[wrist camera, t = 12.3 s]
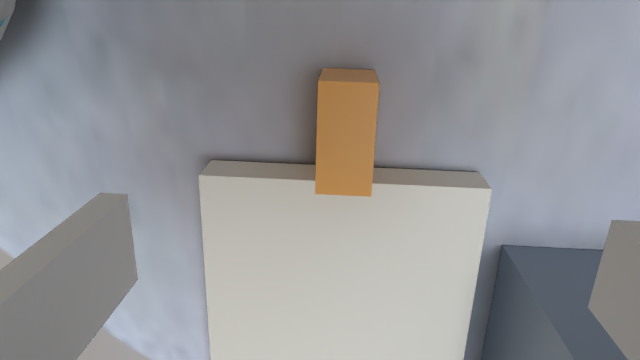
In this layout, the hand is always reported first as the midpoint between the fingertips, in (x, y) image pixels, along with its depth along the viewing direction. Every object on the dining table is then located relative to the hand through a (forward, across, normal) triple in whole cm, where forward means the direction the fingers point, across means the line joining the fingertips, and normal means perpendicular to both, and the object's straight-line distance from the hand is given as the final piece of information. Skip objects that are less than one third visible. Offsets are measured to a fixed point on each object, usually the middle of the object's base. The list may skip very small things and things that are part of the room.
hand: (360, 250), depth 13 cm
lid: (+17, -1, -9) cm, 19 cm away
